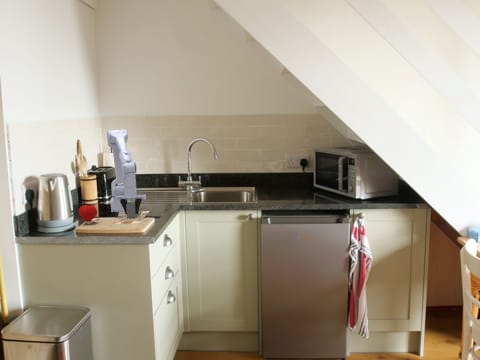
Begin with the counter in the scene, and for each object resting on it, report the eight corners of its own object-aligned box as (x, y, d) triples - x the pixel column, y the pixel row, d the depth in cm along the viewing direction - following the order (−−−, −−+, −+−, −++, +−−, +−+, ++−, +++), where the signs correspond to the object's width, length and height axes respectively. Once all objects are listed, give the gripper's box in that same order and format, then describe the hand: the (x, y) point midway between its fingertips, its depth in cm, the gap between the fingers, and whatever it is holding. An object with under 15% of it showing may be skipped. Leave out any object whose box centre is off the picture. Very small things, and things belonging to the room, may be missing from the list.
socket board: (112, 227, 205) (112, 223, 204) (127, 214, 230) (126, 211, 230) (138, 226, 205) (138, 222, 204) (150, 213, 230) (149, 210, 230)
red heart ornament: (76, 227, 206) (74, 206, 205) (86, 224, 213) (84, 203, 211) (92, 228, 203) (90, 207, 201) (102, 225, 209) (100, 204, 208)
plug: (127, 218, 215) (126, 204, 214) (129, 216, 219) (128, 202, 218) (135, 218, 215) (134, 203, 214) (137, 216, 219) (136, 202, 218)
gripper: (112, 188, 211) (115, 216, 213) (143, 187, 211) (144, 215, 213) (117, 186, 218) (119, 213, 220) (146, 185, 218) (148, 212, 220)
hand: (132, 214), depth 217 cm, fingers open, 5 cm apart
